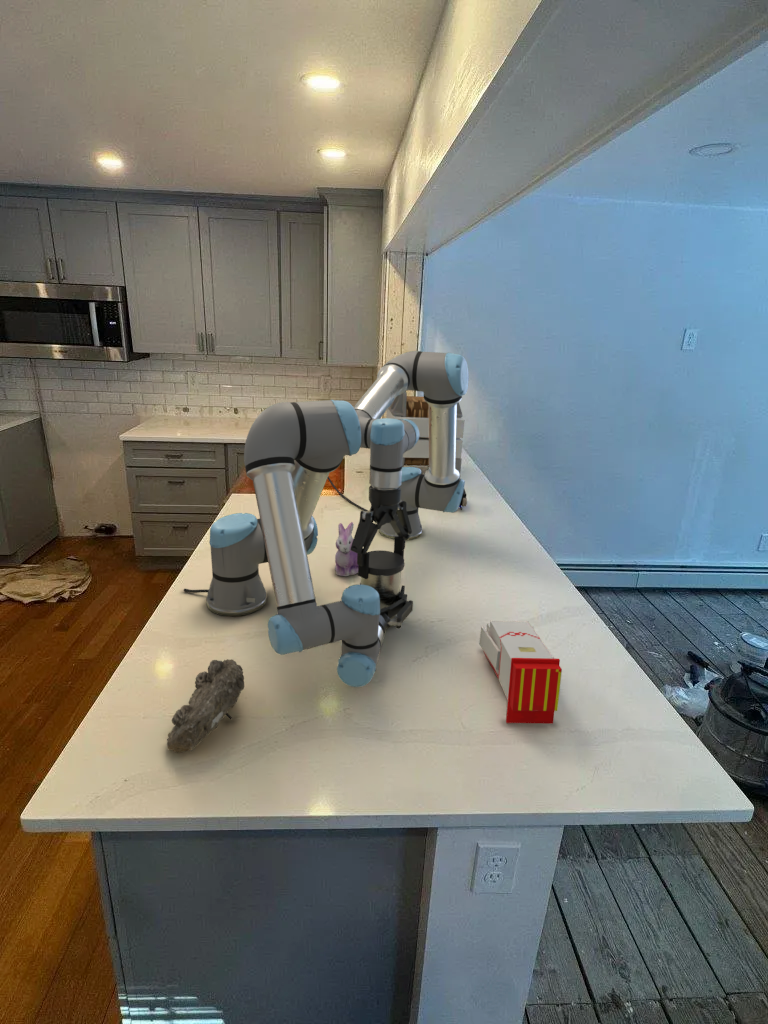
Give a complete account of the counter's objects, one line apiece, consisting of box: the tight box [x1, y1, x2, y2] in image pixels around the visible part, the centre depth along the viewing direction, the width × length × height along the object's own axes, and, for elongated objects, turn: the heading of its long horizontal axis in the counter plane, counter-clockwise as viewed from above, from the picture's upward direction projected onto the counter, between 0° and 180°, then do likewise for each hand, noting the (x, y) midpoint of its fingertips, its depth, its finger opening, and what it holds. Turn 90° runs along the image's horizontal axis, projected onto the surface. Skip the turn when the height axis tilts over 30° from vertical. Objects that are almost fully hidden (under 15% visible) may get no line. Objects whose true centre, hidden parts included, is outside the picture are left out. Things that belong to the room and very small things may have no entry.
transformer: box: [385, 391, 465, 479], centre depth 268 cm, size 34×33×41 cm
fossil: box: [166, 658, 245, 754], centre depth 106 cm, size 22×10×15 cm
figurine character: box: [458, 488, 468, 511], centre depth 230 cm, size 7×8×15 cm
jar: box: [360, 571, 402, 629], centre depth 142 cm, size 10×10×16 cm
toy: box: [478, 620, 563, 725], centre depth 121 cm, size 12×13×30 cm
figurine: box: [334, 521, 358, 577], centre depth 168 cm, size 9×10×15 cm
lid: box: [367, 549, 406, 575], centre depth 140 cm, size 11×11×2 cm
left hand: (382, 587), depth 147 cm, fingers closed on jar, 10 cm apart
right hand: (381, 569), depth 140 cm, fingers open, 12 cm apart
